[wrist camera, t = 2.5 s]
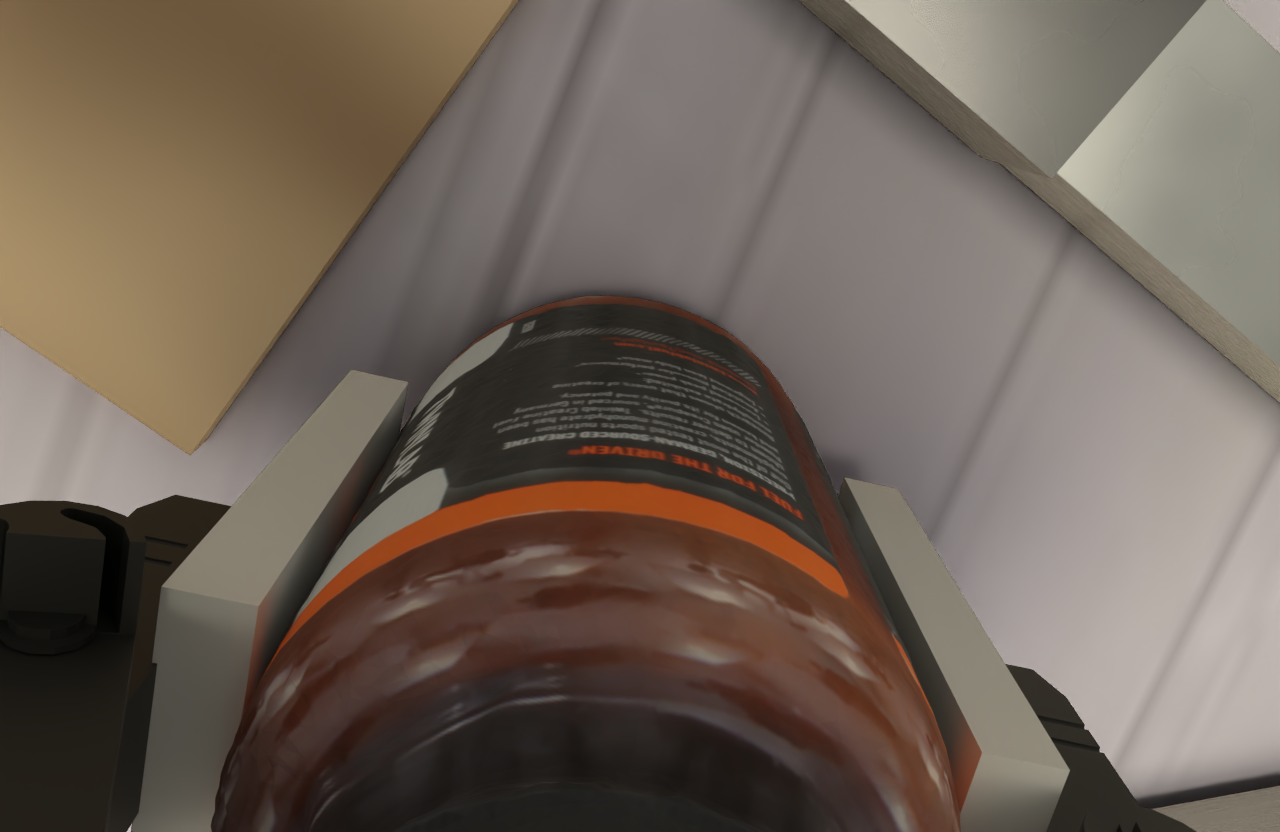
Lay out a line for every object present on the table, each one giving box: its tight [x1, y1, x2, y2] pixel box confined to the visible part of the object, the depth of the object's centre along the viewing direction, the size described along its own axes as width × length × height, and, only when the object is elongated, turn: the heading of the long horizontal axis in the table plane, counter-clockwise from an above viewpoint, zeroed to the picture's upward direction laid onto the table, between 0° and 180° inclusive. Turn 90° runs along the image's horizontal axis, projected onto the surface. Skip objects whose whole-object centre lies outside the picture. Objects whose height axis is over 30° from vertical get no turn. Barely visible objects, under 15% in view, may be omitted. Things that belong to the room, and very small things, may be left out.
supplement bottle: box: [211, 296, 961, 832], centre depth 12 cm, size 6×6×11 cm
